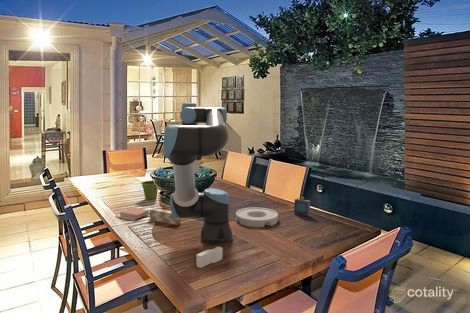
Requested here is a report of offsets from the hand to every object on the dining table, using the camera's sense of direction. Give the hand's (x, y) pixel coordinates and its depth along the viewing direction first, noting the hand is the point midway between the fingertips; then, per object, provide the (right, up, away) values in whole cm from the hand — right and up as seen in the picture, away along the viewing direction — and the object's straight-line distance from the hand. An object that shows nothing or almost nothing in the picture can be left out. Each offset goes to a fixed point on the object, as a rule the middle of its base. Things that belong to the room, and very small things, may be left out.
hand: (189, 174), depth 182 cm
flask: (+62, -25, +21) cm, 70 cm away
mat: (-34, -24, +19) cm, 46 cm away
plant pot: (-33, -19, +52) cm, 64 cm away
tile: (-28, -23, +13) cm, 38 cm away
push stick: (-14, -26, +8) cm, 31 cm away
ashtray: (+35, -26, +12) cm, 46 cm away
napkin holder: (+14, -34, -41) cm, 55 cm away
